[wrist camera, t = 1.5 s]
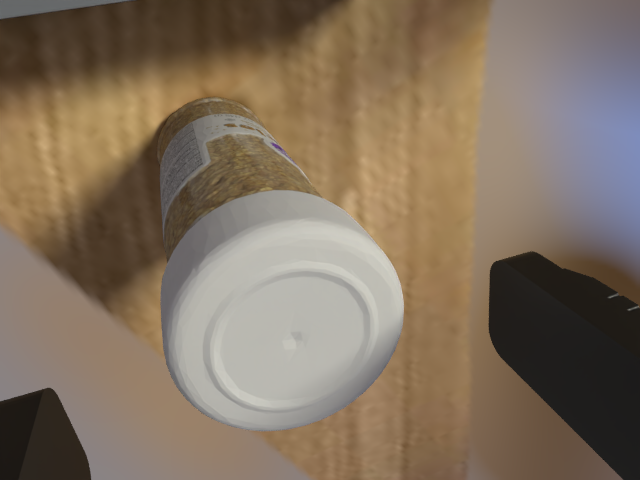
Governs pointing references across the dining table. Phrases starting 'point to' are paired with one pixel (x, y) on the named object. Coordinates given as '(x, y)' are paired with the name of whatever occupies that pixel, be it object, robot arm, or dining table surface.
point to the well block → (45, 6)
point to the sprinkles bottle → (264, 278)
